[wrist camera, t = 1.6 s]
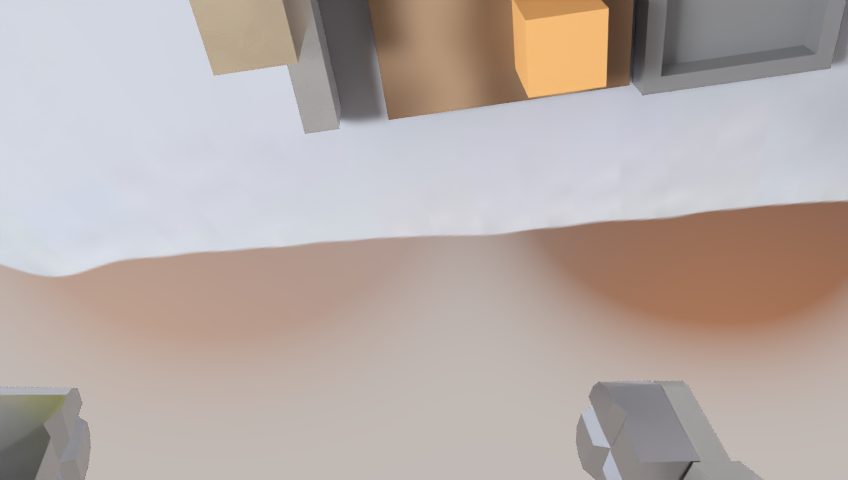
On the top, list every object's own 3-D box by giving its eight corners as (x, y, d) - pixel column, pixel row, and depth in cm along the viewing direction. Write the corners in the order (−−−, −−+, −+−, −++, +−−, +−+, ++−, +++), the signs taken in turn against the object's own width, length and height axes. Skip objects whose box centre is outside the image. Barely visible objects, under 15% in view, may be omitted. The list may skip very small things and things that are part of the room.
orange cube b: (587, -15, 36) (608, 8, 32) (586, 58, 38) (606, 86, 35) (511, -4, 36) (525, 20, 32) (515, 68, 38) (528, 97, 35)
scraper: (274, -201, 32) (248, -190, 26) (341, 106, 42) (334, 171, 35) (181, -186, 32) (132, -172, 26) (269, 117, 42) (249, 184, 35)
